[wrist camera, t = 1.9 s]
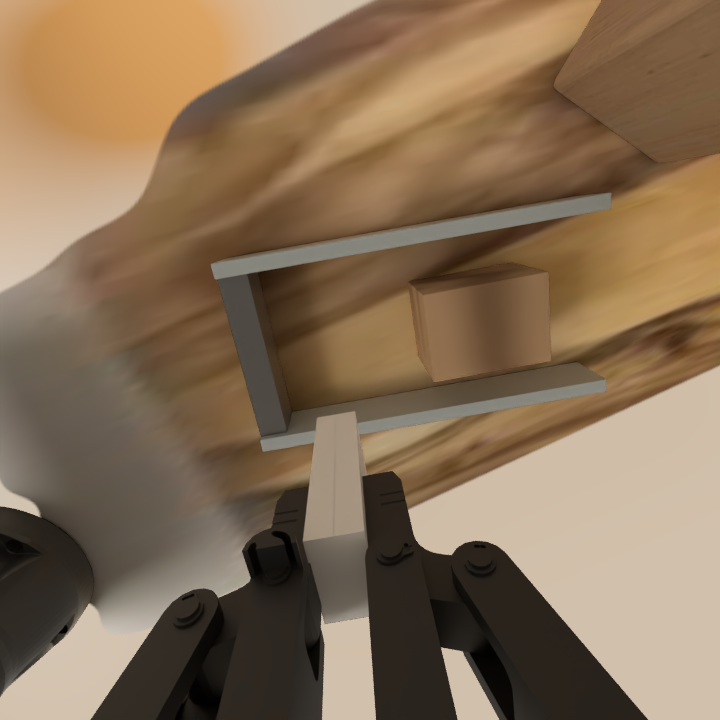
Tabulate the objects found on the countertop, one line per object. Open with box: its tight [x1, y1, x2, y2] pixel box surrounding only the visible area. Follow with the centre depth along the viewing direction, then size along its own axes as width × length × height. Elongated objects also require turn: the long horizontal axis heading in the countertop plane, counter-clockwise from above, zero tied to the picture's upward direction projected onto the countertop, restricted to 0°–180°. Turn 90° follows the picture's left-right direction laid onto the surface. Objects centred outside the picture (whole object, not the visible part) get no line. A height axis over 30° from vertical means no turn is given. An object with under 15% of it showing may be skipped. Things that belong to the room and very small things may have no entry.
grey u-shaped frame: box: [211, 193, 611, 452], centre depth 31 cm, size 26×14×4 cm, turn 100°
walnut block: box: [408, 263, 551, 382], centre depth 30 cm, size 8×6×6 cm
